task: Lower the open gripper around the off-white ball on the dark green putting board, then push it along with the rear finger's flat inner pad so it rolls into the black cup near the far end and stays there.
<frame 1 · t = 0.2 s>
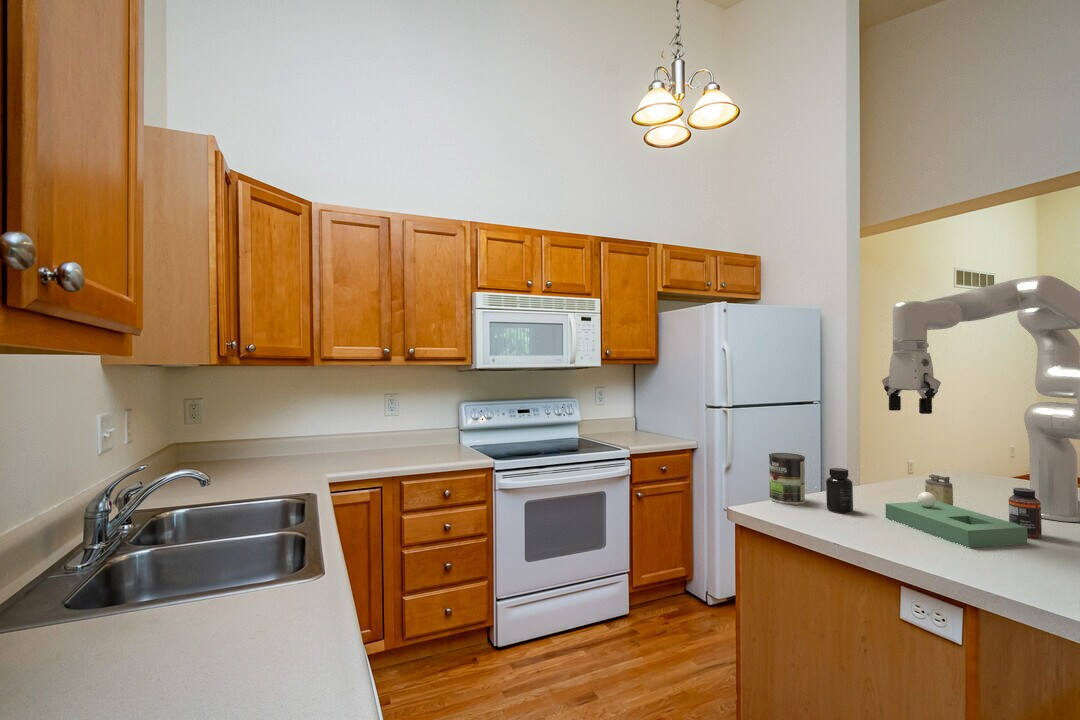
hand: (909, 412, 140), 30 cm above the countertop, tool pointing down, fingers open, 9 cm apart
coffee can: (787, 500, 165), on the countertop
supplement bottle: (839, 511, 153), on the countertop
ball: (926, 499, 141), point 6 cm above the countertop, touching putting board
lighter: (939, 510, 153), on the countertop
putting board: (950, 530, 134), on the countertop
supplement bottle 2: (1025, 535, 130), on the countertop
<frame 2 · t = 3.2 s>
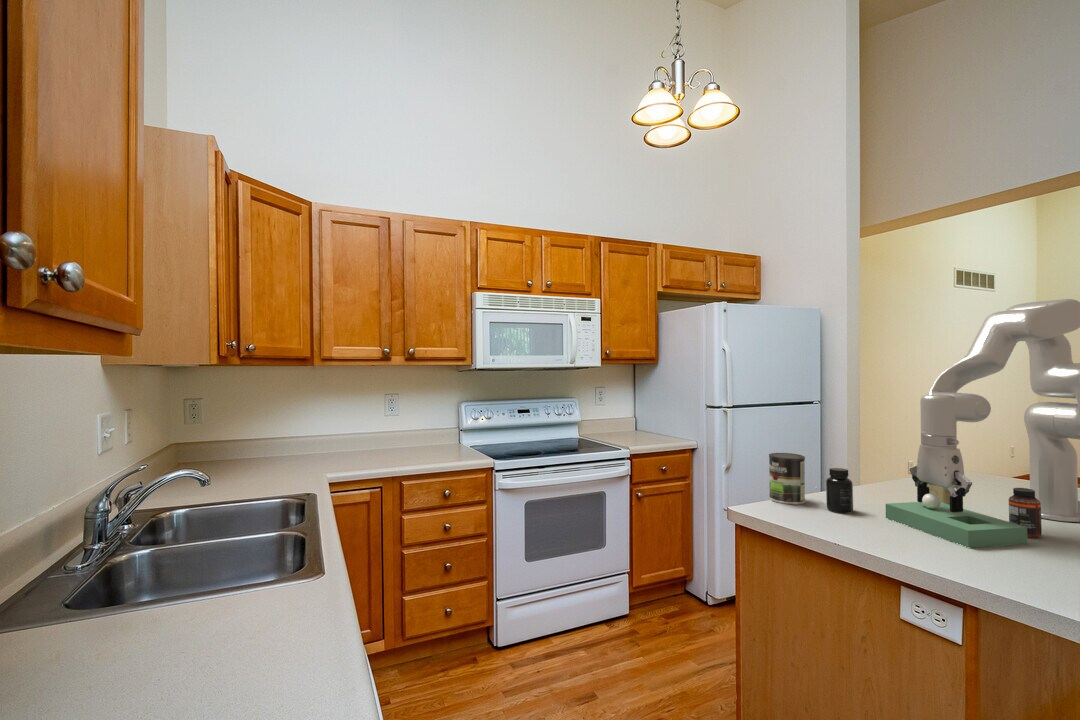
hand: (939, 506, 137), 5 cm above the countertop, tool pointing down, fingers open, 9 cm apart
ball: (931, 501, 140), point 6 cm above the countertop, tilted 43°, touching putting board
everything else where it was.
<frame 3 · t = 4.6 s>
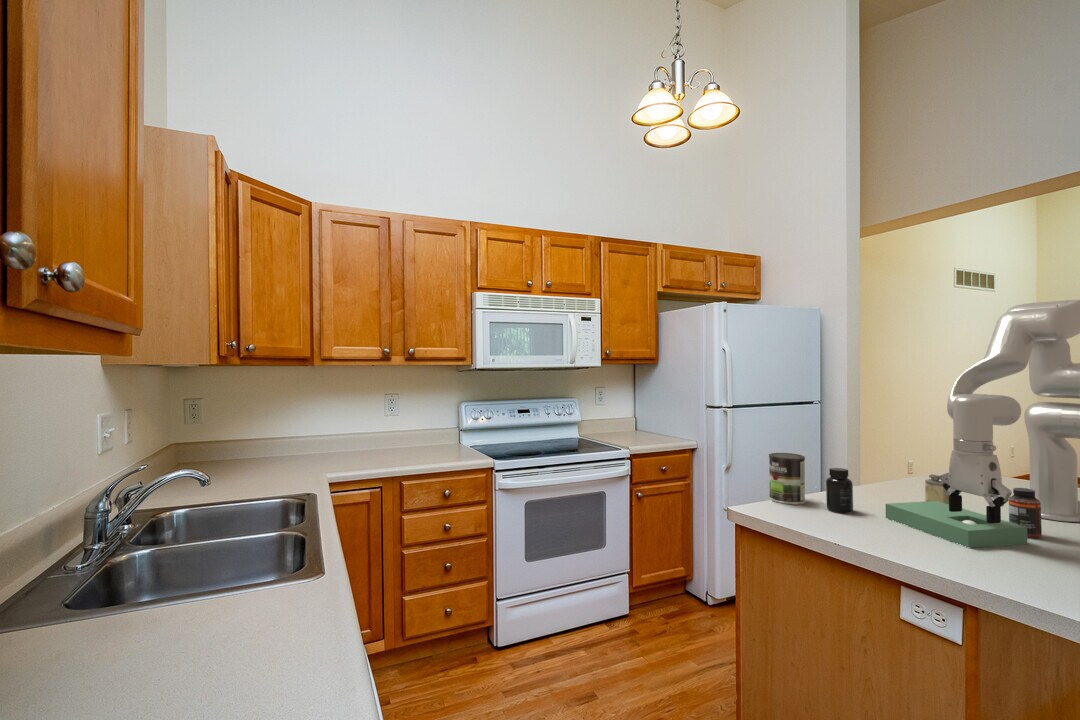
hand: (973, 516, 128), 5 cm above the countertop, tool pointing down, fingers open, 9 cm apart
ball: (969, 528, 128), point 2 cm above the countertop, tilted 38°, touching putting board
everything else where it was.
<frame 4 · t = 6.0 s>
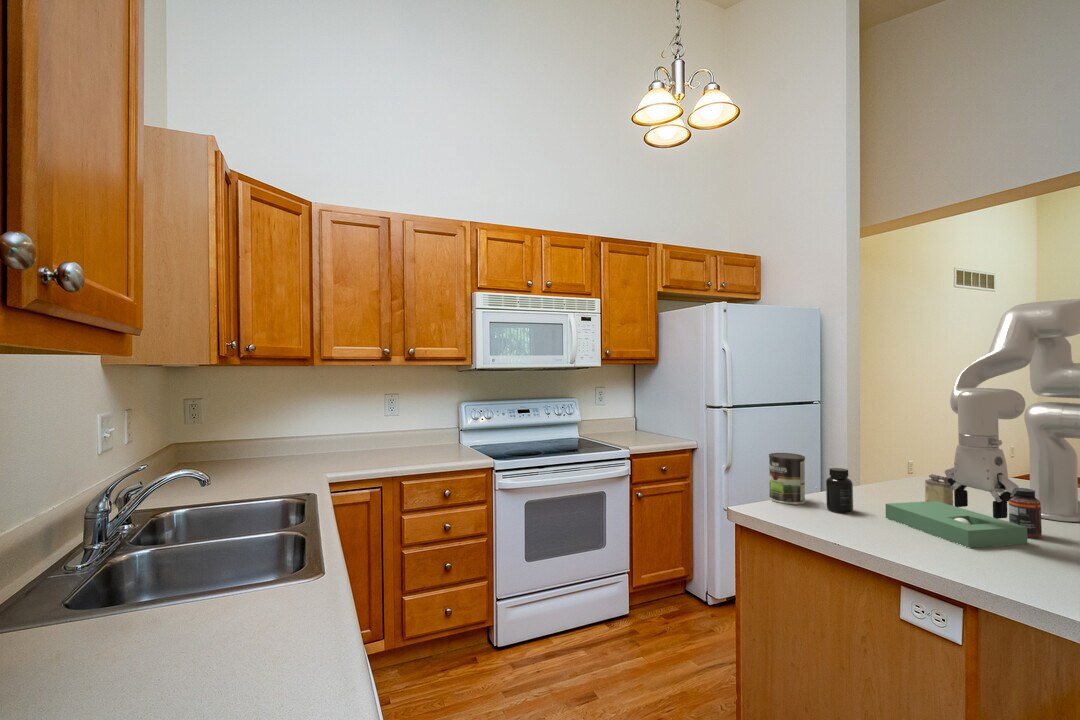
hand: (979, 512, 127), 7 cm above the countertop, tool pointing down, fingers open, 9 cm apart
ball: (961, 526, 130), point 2 cm above the countertop, tilted 19°, touching putting board
everything else where it was.
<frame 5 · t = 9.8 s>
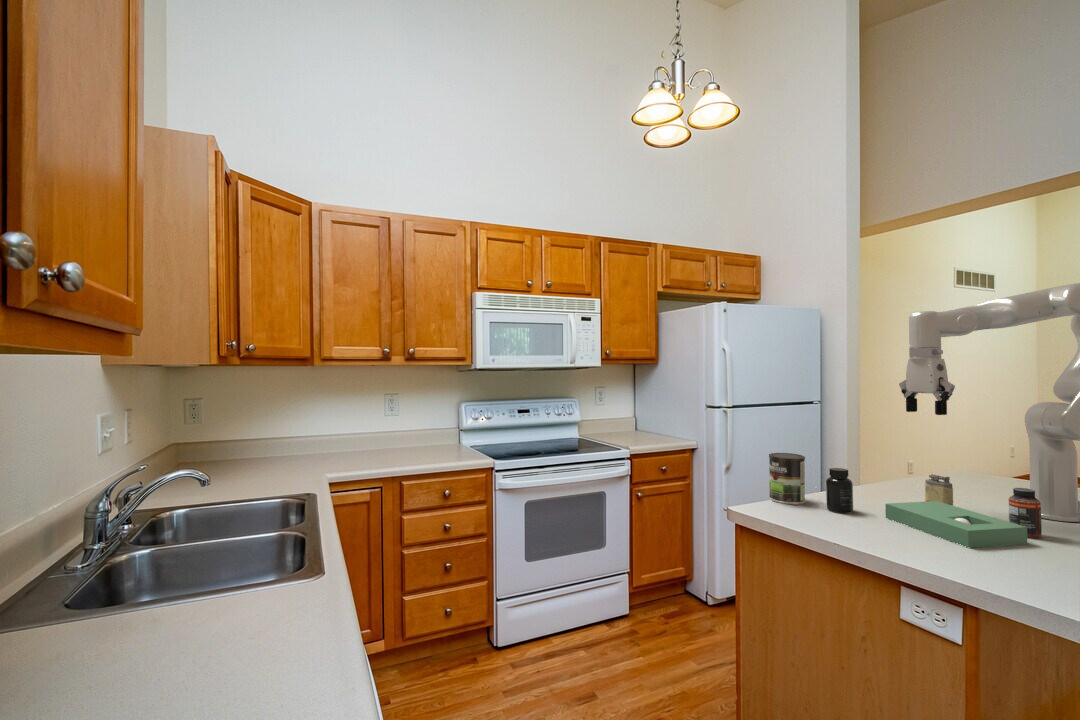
hand: (925, 413, 152), 28 cm above the countertop, tool pointing down, fingers open, 9 cm apart
nothing on the countertop moved.
at the end: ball 1.5 cm from the target spot on the putting board, point 2.2 cm above the putting board's base; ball moved 11.6 cm from its start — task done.
